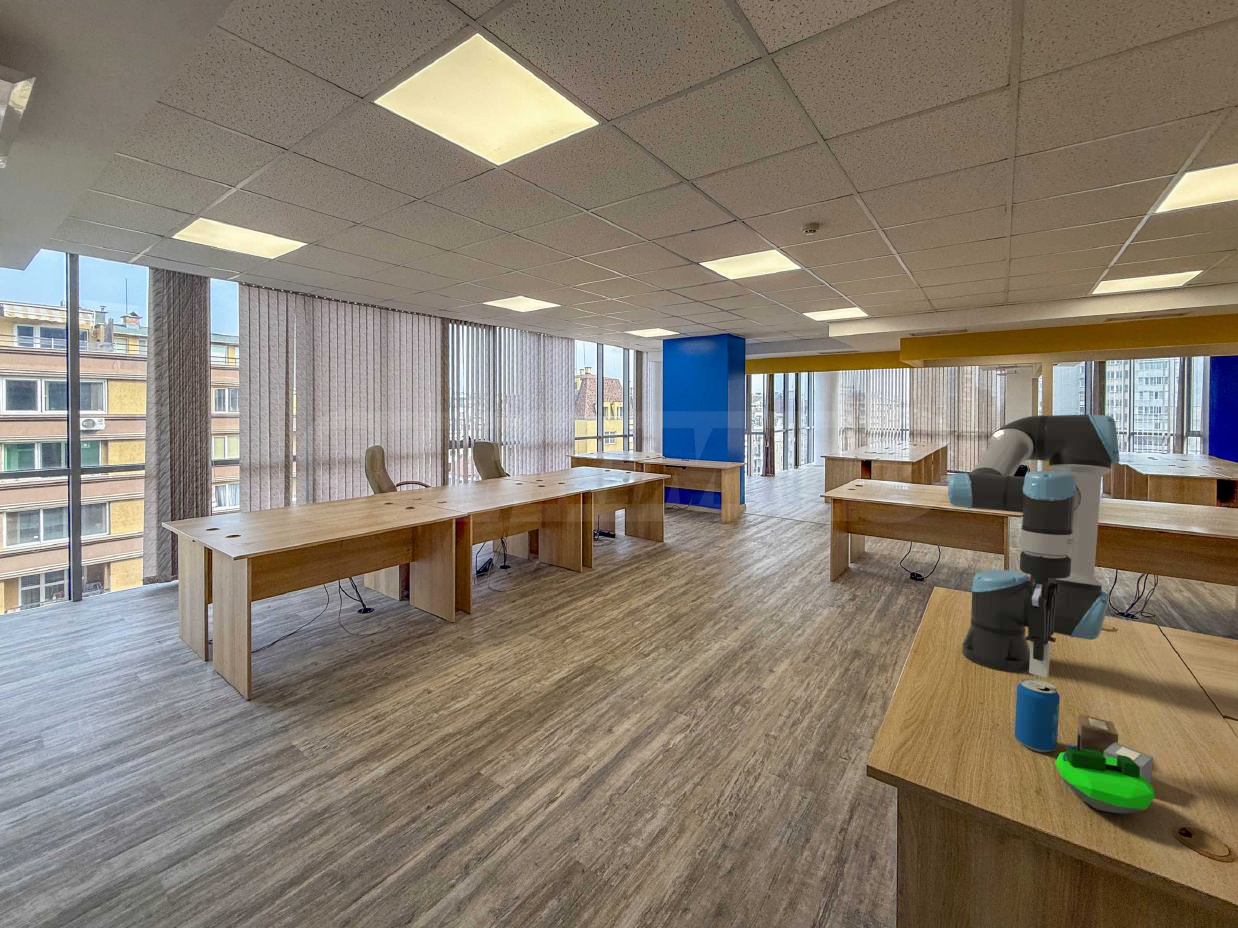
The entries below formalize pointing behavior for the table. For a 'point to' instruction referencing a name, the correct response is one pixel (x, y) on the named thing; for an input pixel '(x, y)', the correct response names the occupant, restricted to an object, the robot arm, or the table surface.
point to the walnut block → (1096, 733)
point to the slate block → (1138, 757)
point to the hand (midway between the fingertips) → (1038, 673)
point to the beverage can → (1037, 715)
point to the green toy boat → (1105, 780)
